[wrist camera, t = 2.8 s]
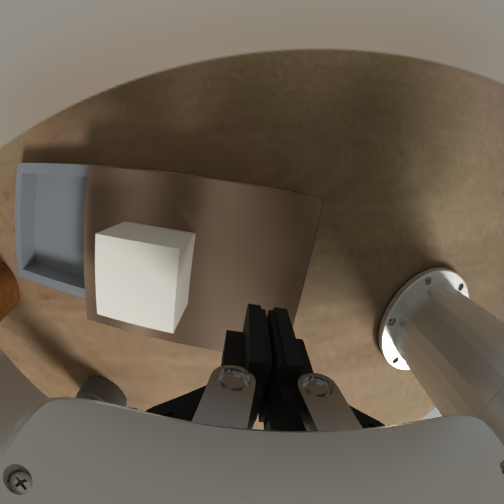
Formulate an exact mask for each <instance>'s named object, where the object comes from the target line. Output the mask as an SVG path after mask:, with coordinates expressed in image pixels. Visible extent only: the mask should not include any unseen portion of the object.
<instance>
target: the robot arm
mask: <svg viewBox="0 0 504 504" xmlns="http://www.w3.org/2000/svg"><path fill="white" fill-rule="evenodd" d="M378 340H379V348H380V350H381V353H382V355H383V356H384V358H385V359H386V361H387V362H388V363H389V364H390V365H391V366H393V367H395V368H397V369H402V370H411V371H412V373H413V374H414V375H415V377H416V378H417V380H418V381H419V382H420V384H421V385H422V387H423V388H424V390H425V391H426V393H427V394H428V395H429V397H430V398H431V400H432V401H433V403H434V404H435V406H436V407H437V409H438V410H439V412H440V413H441V415H442V416H443V417H437V418H432V419H426V420H420V421H414V422H409V423H403V424H396V425H388V426H385V425H384V424H383V423H381V422H379V421H378V420H376V419H374V418H372V417H370V416H368V415H366V414H364V413H362V412H360V411H359V410H357V409H355V408H353V407H351V406H350V405H348V403H347V401H346V400H345V398H344V396H343V395H342V393H341V391H340V390H339V388H338V386H337V385H336V383H335V382H334V381H333V380H332V379H330V378H329V377H327V376H325V375H322V374H318V373H313V370H312V367H311V364H310V360H309V357H308V354H307V351H306V348H305V345H304V342H303V340H302V339H296V338H295V334H294V331H293V327H292V324H291V320H290V317H289V314H288V310H287V309H284V308H277V307H274V308H273V310H269V311H268V314H267V316H266V310H265V309H261V305H256V304H249V303H248V306H247V311H246V316H245V321H244V326H243V331H242V332H238V331H232V330H227V331H226V336H225V342H224V349H223V355H222V363H221V366H220V367H218V368H216V369H215V370H214V371H213V372H212V374H211V376H210V379H209V381H208V383H207V385H206V386H204V387H202V388H199V389H197V390H195V391H192V392H190V393H187V394H185V395H182V396H180V397H177V398H175V399H172V400H170V401H167V402H165V403H162V404H159V405H157V406H154V407H152V408H150V409H148V410H147V411H146V412H144V411H140V410H137V408H130V407H124V406H120V405H116V404H111V403H107V402H102V401H97V400H90V399H84V398H70V397H57V398H49V399H45V400H42V401H40V402H38V403H36V404H35V405H33V406H32V407H31V408H30V409H29V410H28V411H26V412H25V414H24V415H23V416H22V417H21V418H20V419H19V420H18V421H17V422H16V424H15V425H14V426H13V427H12V428H11V430H10V431H9V433H8V434H7V435H6V437H5V438H4V440H3V441H2V443H1V444H0V504H504V323H503V322H502V321H500V320H499V319H498V318H496V317H495V316H493V315H492V314H491V313H489V312H488V311H486V310H485V309H484V308H482V307H481V306H479V305H478V304H477V303H475V302H474V301H472V300H471V299H469V293H468V288H467V286H466V283H465V281H464V280H463V279H462V277H461V276H460V275H458V274H457V273H456V272H454V271H452V270H450V269H447V268H443V267H439V268H431V269H428V270H425V271H423V272H421V273H419V274H417V275H416V276H414V277H413V278H412V279H410V280H409V281H408V282H406V284H405V285H404V286H403V287H401V288H400V289H399V291H398V292H397V293H396V295H395V296H394V297H393V298H392V300H391V302H390V303H389V305H388V307H387V308H386V310H385V313H384V315H383V318H382V320H381V324H380V328H379V337H378ZM258 414H259V422H264V430H258V429H251V428H252V427H253V425H254V422H255V421H256V418H257V415H258Z"/></svg>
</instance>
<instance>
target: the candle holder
mask: <svg viewBox="0 0 504 504" xmlns="http://www.w3.org/2000/svg"><path fill="white" fill-rule="evenodd" d="M76 398H84V399H90V400H97V401H102V402H107V403H111V404H116V405H120V406H124V407H125V406H126V397H125V395H124V394H123V392H122V391H121V390H120V389H119V388H118V386H117V385H115V384H114V383H112V382H111V381H109V380H107V379H105V378H103V377H100V376H92V377H89V378H88V379H87V380H86V382H85V383H84V385H83V386H82V388H81V389H80V390H79V392H78V393H77V396H76Z"/></svg>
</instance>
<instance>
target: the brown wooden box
mask: <svg viewBox="0 0 504 504" xmlns="http://www.w3.org/2000/svg"><path fill="white" fill-rule="evenodd" d="M322 203H323V200H321V199H318V198H315V197H312V196H309V195H306V194H301V193H297V192H292V191H287V190H282V189H277V188H271V187H266V186H260V185H255V184H249V183H243V182H237V181H231V180H225V179H219V178H212V177H205V176H198V175H191V174H184V173H176V172H167V171H159V170H150V169H140V168H129V167H109V166H89V170H88V179H87V189H86V201H85V217H84V283H85V299H86V311H87V319H90V320H93V321H96V322H99V323H102V324H106V325H109V326H113V327H116V328H120V329H123V330H127V331H131V332H134V333H138V334H142V335H146V336H150V337H154V338H159V339H163V340H167V341H172V342H176V343H181V344H186V345H191V346H196V347H201V348H206V349H212V350H217V351H223V349H224V342H225V336H226V331H227V330H232V331H238V332H242V331H243V326H244V321H245V316H246V311H247V306H248V303H249V304H256V305H261V309H265V310H266V316H267V314H268V311H269V310H273V308H274V307H277V308H284V309H287V310H288V314H289V317H290V320H291V324H292V326H293V323H294V319H295V316H296V312H297V308H298V305H299V301H300V297H301V293H302V289H303V285H304V282H305V278H306V274H307V270H308V265H309V261H310V257H311V253H312V249H313V244H314V240H315V236H316V231H317V227H318V222H319V217H320V213H321V208H322ZM123 222H131V223H137V224H144V225H150V226H156V227H162V228H168V229H174V230H180V231H186V232H192V233H196V235H195V242H194V250H193V258H192V267H191V276H190V285H189V295H188V304H187V306H186V308H185V310H184V312H183V314H182V316H181V318H180V321H179V323H178V325H177V327H176V329H175V331H174V333H168V332H164V331H159V330H155V329H151V328H147V327H143V326H139V325H135V324H131V323H127V322H123V321H120V320H116V319H112V318H109V317H105V316H102V315H99V314H97V305H96V286H95V234H96V233H98V232H100V231H103V230H105V229H108V228H110V227H113V226H115V225H118V224H120V223H123Z"/></svg>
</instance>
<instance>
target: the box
mask: <svg viewBox="0 0 504 504" xmlns="http://www.w3.org/2000/svg"><path fill="white" fill-rule="evenodd" d="M89 166H105V165H90V164H71V163H39V162H33V163H18V165H17V176H16V190H15V242H16V257H17V268H18V276H19V277H22V278H25V279H27V280H30V281H33V282H36V283H38V284H41V285H44V286H47V287H50V288H53V289H56V290H59V291H62V292H65V293H68V294H72V295H75V296H78V297H81V298H85V283H84V217H85V201H86V189H87V179H88V170H89ZM109 167H118V166H109Z"/></svg>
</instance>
